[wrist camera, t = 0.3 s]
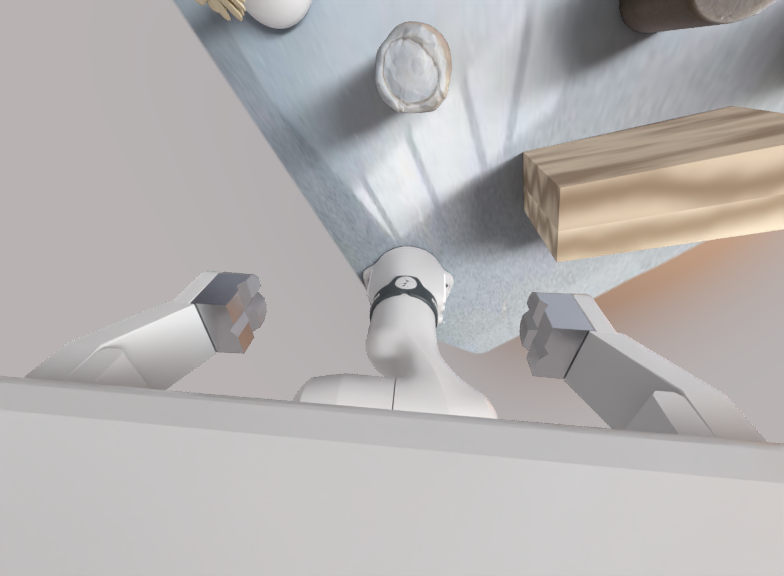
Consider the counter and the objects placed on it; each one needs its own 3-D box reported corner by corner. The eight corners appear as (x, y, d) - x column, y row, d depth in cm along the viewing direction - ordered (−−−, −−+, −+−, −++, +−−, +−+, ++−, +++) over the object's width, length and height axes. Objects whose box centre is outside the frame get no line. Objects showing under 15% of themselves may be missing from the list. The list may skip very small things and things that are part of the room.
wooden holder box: (710, 176, 50) (825, 222, 36) (523, 210, 56) (556, 262, 42) (732, 106, 45) (877, 126, 30) (523, 152, 51) (560, 187, 36)
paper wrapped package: (425, 112, 49) (423, 137, 33) (380, 77, 47) (355, 85, 31) (462, 56, 45) (480, 52, 29) (414, 14, 43) (404, -15, 27)
